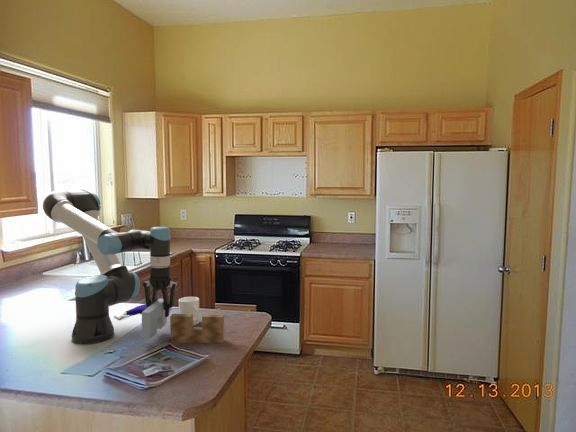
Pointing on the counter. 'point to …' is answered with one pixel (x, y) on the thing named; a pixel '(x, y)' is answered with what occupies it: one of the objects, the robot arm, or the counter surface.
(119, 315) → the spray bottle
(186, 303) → the mug
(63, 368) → the counter surface
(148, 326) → the grey flat rectangular block
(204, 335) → the walnut board
